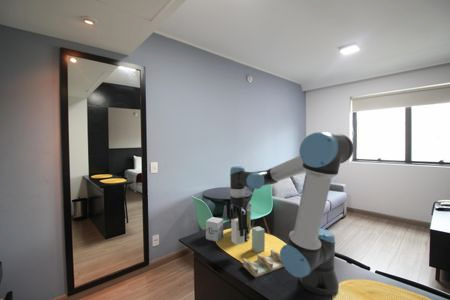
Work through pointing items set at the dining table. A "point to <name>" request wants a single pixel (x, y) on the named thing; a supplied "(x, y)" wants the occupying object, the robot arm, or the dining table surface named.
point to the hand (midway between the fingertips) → (237, 239)
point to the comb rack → (263, 264)
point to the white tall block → (235, 231)
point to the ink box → (214, 229)
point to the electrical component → (247, 219)
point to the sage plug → (258, 239)
